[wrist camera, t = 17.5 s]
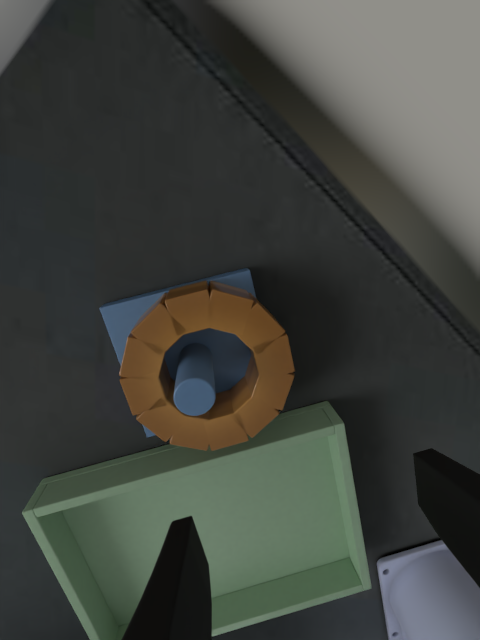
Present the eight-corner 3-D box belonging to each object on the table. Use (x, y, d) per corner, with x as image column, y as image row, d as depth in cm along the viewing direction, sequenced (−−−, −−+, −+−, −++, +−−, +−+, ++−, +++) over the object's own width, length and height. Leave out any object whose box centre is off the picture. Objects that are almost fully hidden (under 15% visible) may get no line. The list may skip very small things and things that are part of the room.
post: (276, 393, 21) (301, 450, 16) (149, 428, 21) (132, 497, 15) (247, 267, 19) (266, 283, 13) (104, 303, 18) (65, 335, 13)
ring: (293, 400, 20) (306, 425, 18) (158, 437, 20) (152, 468, 17) (264, 265, 18) (274, 271, 15) (110, 304, 17) (94, 317, 15)
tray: (327, 399, 22) (344, 422, 19) (355, 553, 25) (372, 588, 23) (42, 478, 21) (20, 512, 18) (114, 624, 25) (105, 669, 22)
